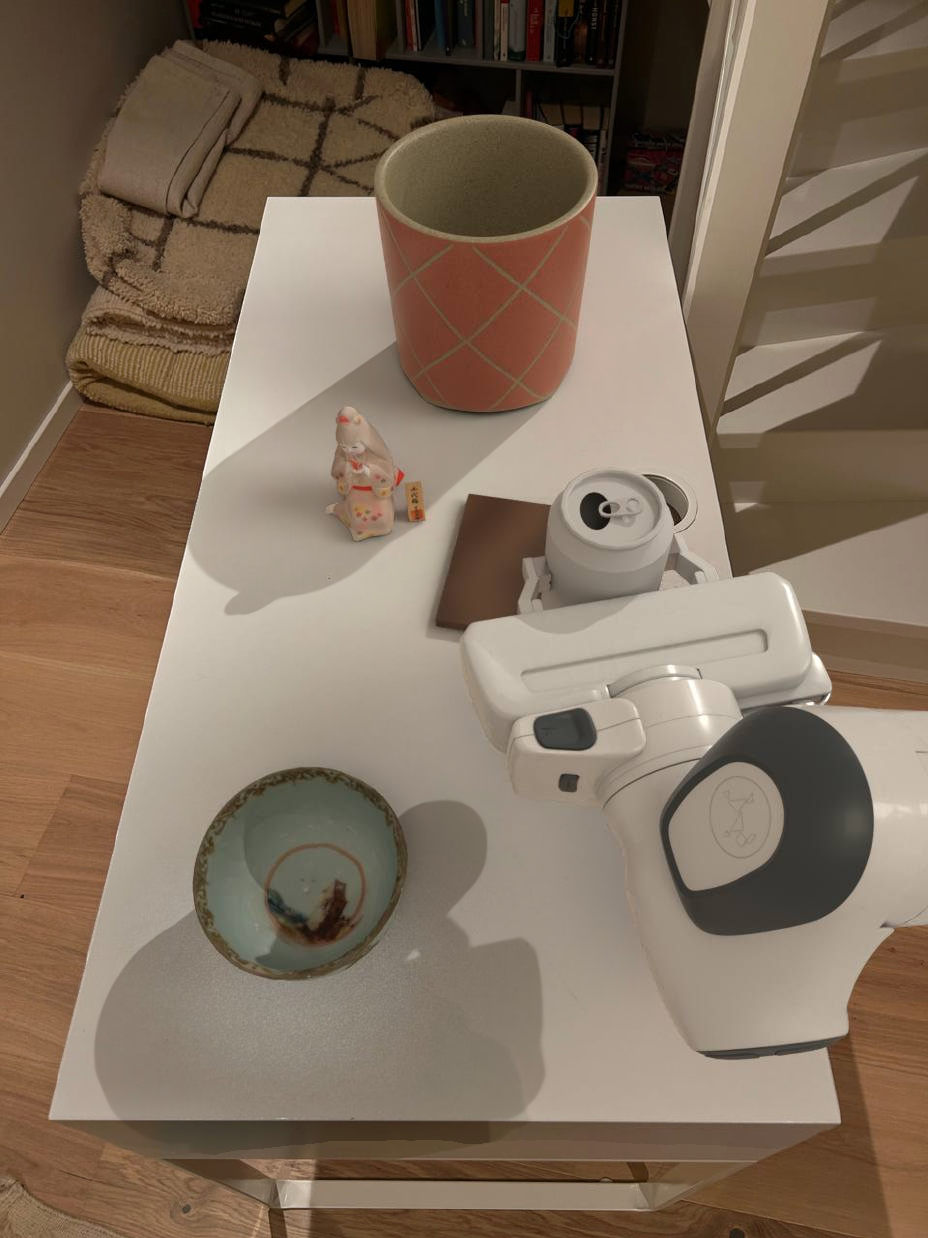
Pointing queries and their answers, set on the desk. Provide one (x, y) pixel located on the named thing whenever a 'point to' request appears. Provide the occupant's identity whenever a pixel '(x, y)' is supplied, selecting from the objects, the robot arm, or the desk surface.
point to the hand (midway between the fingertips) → (599, 550)
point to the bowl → (300, 874)
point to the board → (491, 559)
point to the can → (606, 538)
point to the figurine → (368, 479)
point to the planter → (486, 257)
